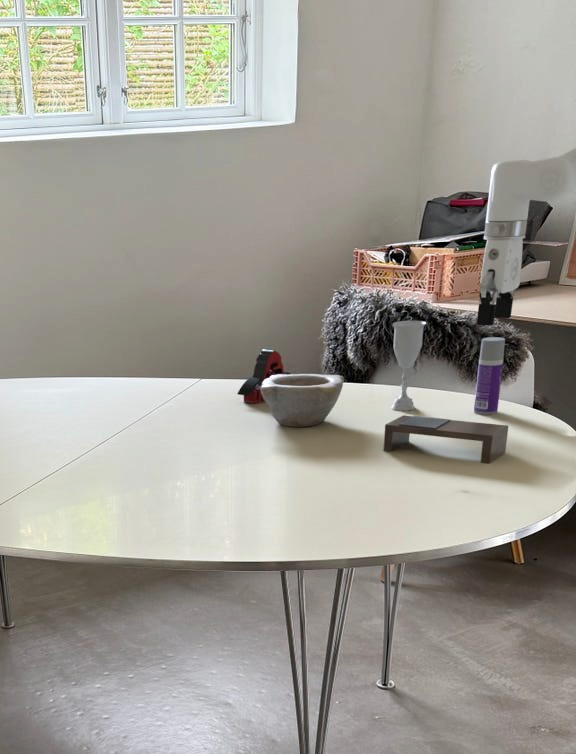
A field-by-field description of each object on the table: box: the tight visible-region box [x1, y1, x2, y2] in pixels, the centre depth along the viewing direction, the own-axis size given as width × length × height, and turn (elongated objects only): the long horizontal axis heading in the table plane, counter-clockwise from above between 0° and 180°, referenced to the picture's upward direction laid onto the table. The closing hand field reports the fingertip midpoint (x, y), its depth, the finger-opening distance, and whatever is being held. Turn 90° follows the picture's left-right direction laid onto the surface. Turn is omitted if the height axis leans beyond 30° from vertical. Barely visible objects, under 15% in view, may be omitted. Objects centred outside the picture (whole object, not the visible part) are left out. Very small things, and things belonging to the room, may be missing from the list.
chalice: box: [390, 320, 427, 412], centre depth 206 cm, size 7×7×18 cm
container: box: [473, 336, 506, 415], centre depth 198 cm, size 5×5×15 cm
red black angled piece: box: [236, 349, 292, 404], centre depth 226 cm, size 18×4×11 cm, turn 129°
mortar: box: [261, 373, 345, 428], centre depth 203 cm, size 17×17×9 cm
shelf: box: [383, 414, 509, 464], centre depth 176 cm, size 20×8×5 cm, turn 50°
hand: (493, 321), depth 194 cm, fingers open, 9 cm apart
